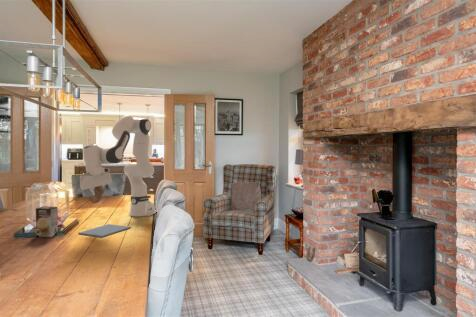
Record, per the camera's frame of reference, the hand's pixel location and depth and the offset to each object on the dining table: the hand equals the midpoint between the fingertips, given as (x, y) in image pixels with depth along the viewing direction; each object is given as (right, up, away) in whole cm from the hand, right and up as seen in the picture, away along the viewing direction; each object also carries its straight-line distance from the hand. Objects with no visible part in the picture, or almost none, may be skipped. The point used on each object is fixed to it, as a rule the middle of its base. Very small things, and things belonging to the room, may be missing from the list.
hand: (98, 194), depth 184 cm
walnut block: (-4, -4, +2) cm, 6 cm away
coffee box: (-24, -22, -11) cm, 35 cm away
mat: (+5, -22, -2) cm, 22 cm away
